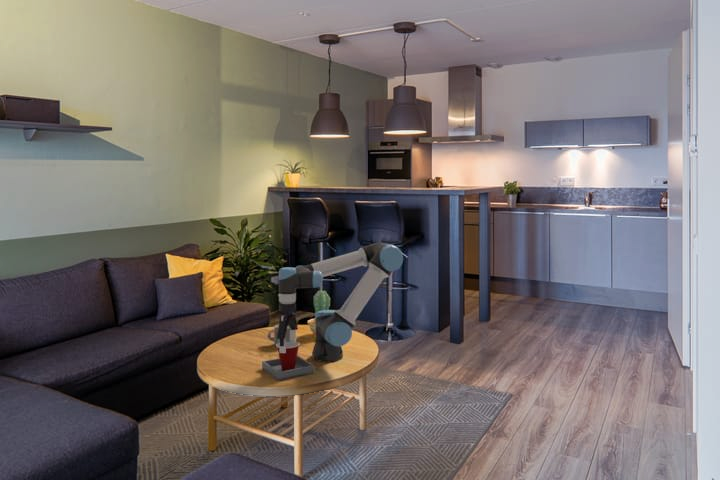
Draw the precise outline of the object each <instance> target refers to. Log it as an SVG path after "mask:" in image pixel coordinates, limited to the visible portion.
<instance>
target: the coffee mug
mask: <svg viewBox="0 0 720 480" xmlns="http://www.w3.org/2000/svg"><path fill="white" fill-rule="evenodd" d="M278 328H279V323H278V324H275V325H274V328H272V329H271V328H270V329H269V330H268V332H267V337H268V340H270V341H272V342H274V346H275V347H276V345H277V344H279V339H277V335H278ZM290 330H292V329H290V326H289V325H288V326H287V330H286V335H285V338H286V342H290ZM272 333H273V334H274V335H273V337H271V334H272Z"/></svg>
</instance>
